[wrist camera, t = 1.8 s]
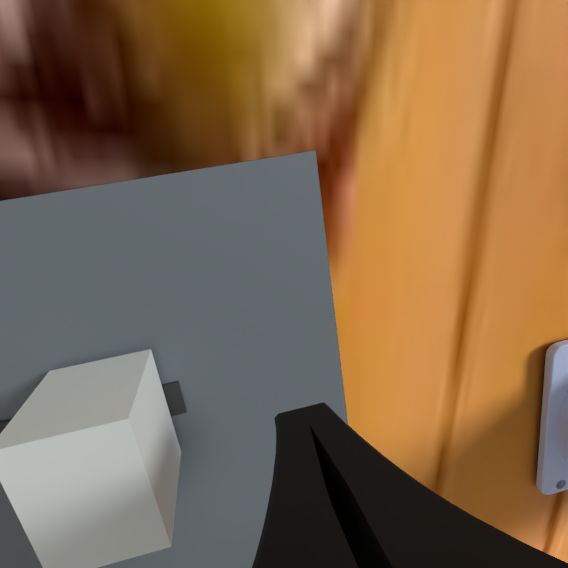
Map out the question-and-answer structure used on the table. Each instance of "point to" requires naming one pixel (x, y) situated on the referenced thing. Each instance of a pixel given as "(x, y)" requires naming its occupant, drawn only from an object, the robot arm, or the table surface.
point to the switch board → (180, 327)
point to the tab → (94, 463)
